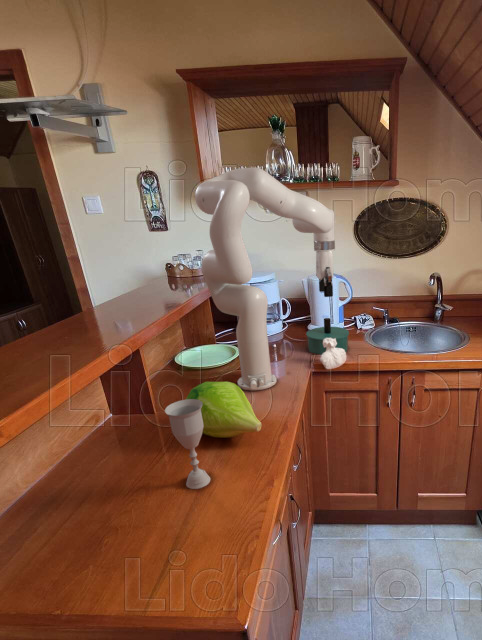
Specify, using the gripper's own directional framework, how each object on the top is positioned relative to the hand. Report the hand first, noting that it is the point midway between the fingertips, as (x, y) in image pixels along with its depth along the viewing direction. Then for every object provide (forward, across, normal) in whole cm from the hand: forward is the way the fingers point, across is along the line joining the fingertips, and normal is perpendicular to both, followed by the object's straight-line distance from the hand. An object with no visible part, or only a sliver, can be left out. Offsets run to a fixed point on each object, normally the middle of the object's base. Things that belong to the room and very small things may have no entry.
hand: (325, 293), depth 157 cm
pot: (+22, 0, 0) cm, 22 cm away
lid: (+16, 0, 0) cm, 16 cm away
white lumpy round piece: (+22, +18, -2) cm, 29 cm away
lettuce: (+23, +57, -38) cm, 72 cm away
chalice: (+23, +76, -44) cm, 90 cm away
